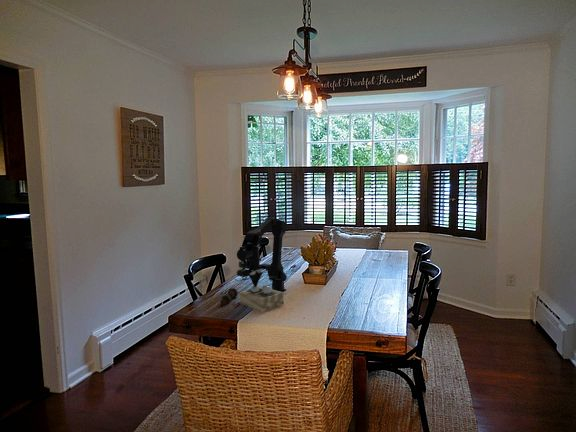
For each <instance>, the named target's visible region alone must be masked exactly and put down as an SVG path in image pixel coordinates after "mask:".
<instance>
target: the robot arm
mask: <svg viewBox="0 0 576 432" xmlns="http://www.w3.org/2000/svg"><path fill="white" fill-rule="evenodd" d="M287 226H288V225H287V223H286V221H285V220H281V219H277V218H275V217H267V218H265V219H264V221H263V222H262V223H261V224H259V225H258V226H257V227H256V228H255V229H252V230H249V231H248V232H246V233H245V235H244V238H243V241H242V243H241V246H239V249H238V250H237V252H236V258H237V259H238V260H239V261H238V268H239V269H238V270H237V271H236V276H237V277H241V278H246V277H249V278H250V280H251V282H252V286H255V287H256V286H257V285H258V284H259V282H260V279H261V277H262V275H263V274H264V272H262V271H263V270H266V271H267V276H268V280H269V281H271V289H272V290H276V291H280V292H285V291H287V289H286V288H285V282H286V280H287V279H288V278H287V277H288V275H287V274H286V273H285V271H284V265H283V264H282V250H283V237H284V235H285V234H286V232H287ZM269 230H270V232H271V233H272V236H273V242H272V255H271V256H272V258H271V263H270V264H269V263H261V261H262V258H260V247H262V245H261V244H260V243H261V241H262V240H263V236H264V235H265V233H267V232H268V231H269ZM245 260H246V261H245ZM260 263H261V264H260Z"/></svg>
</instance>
